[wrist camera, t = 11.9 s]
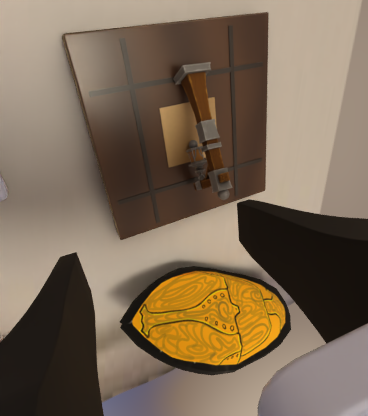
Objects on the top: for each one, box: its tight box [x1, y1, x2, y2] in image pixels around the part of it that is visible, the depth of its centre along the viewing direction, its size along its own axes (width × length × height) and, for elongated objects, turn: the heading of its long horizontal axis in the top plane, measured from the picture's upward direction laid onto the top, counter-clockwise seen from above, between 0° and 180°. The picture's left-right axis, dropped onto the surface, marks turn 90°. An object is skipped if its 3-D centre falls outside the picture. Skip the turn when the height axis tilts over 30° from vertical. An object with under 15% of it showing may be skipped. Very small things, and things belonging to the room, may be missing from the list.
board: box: [62, 12, 268, 240], centre depth 20 cm, size 13×13×1 cm
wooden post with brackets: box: [173, 62, 233, 200], centre depth 19 cm, size 2×8×4 cm, turn 6°
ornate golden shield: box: [120, 266, 291, 375], centre depth 26 cm, size 9×17×6 cm
